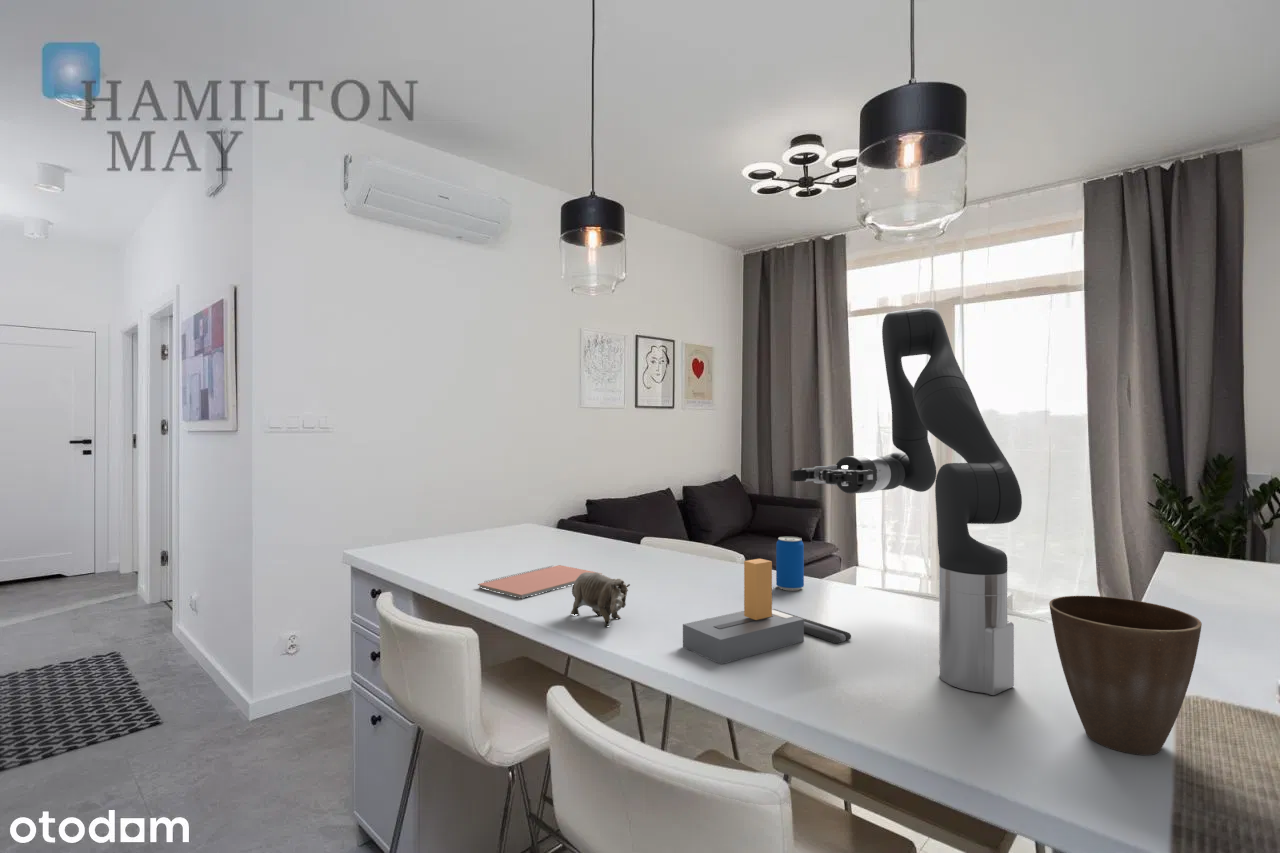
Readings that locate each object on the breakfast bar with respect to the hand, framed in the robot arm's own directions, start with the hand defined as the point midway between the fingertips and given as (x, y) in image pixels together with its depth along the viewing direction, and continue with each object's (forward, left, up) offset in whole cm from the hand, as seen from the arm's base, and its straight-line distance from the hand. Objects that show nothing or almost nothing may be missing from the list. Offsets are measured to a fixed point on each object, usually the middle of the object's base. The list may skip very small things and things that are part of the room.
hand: (809, 476), depth 120 cm
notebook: (+64, +26, -30) cm, 75 cm away
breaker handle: (+2, +12, -25) cm, 28 cm away
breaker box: (+2, +15, -29) cm, 33 cm away
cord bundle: (+2, +2, -29) cm, 30 cm away
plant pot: (-50, +1, -30) cm, 58 cm away
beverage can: (+25, -22, -30) cm, 44 cm away
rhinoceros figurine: (+28, +29, -30) cm, 50 cm away
